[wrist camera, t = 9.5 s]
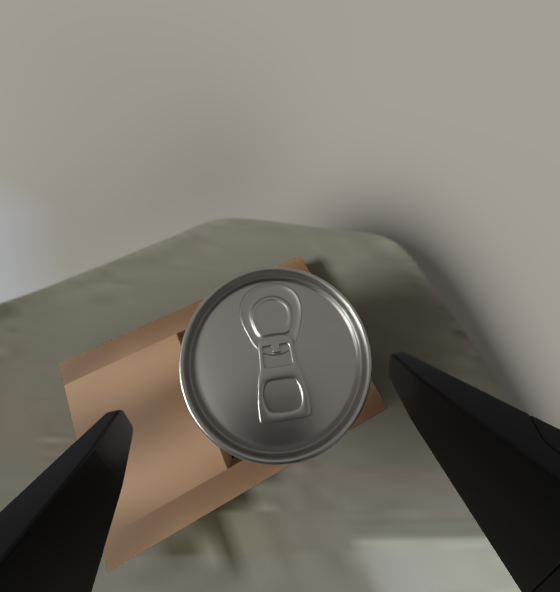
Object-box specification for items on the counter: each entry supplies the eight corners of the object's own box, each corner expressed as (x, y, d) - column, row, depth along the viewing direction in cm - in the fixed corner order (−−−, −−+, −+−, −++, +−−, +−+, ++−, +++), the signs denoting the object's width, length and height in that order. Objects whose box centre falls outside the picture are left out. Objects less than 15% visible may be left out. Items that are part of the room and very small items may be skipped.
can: (308, 319, 20) (358, 243, 8) (325, 406, 18) (416, 461, 7) (226, 330, 19) (161, 266, 8) (234, 421, 18) (162, 509, 6)
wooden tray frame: (375, 404, 18) (387, 407, 16) (128, 547, 15) (107, 571, 13) (298, 266, 21) (300, 255, 19) (81, 364, 18) (59, 363, 17)
